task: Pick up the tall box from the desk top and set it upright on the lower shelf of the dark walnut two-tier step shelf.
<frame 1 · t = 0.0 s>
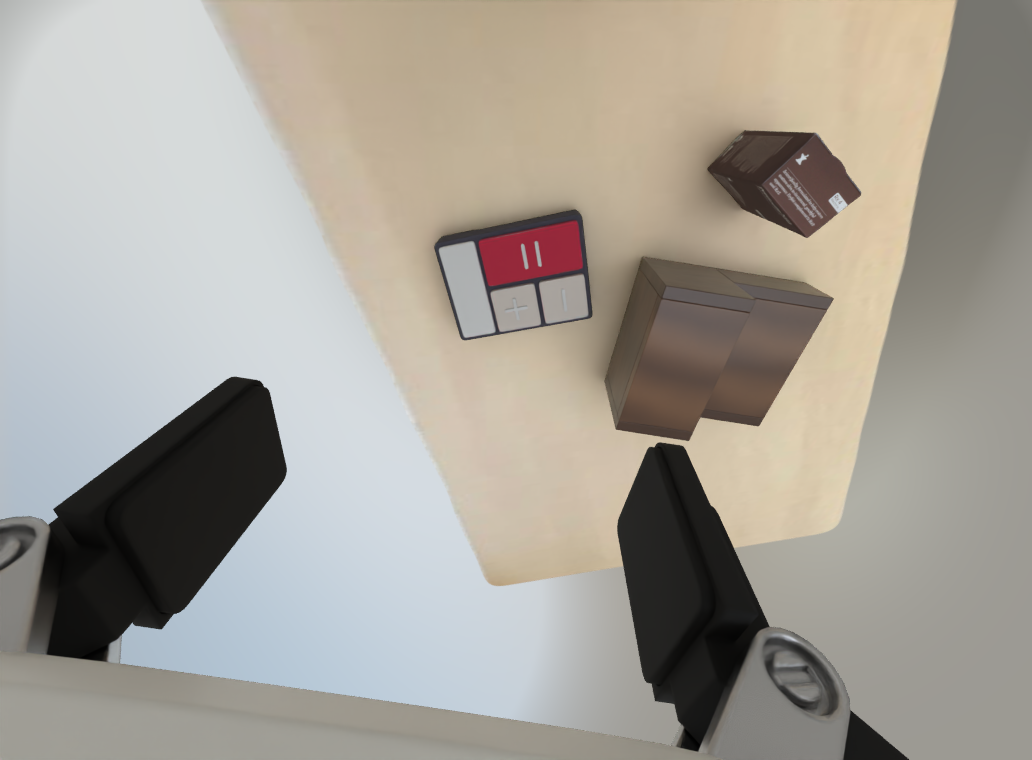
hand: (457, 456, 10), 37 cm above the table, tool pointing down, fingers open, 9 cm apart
box: (741, 173, 38), on the table
step shelf: (688, 334, 47), on the table
calculator: (517, 273, 45), on the table
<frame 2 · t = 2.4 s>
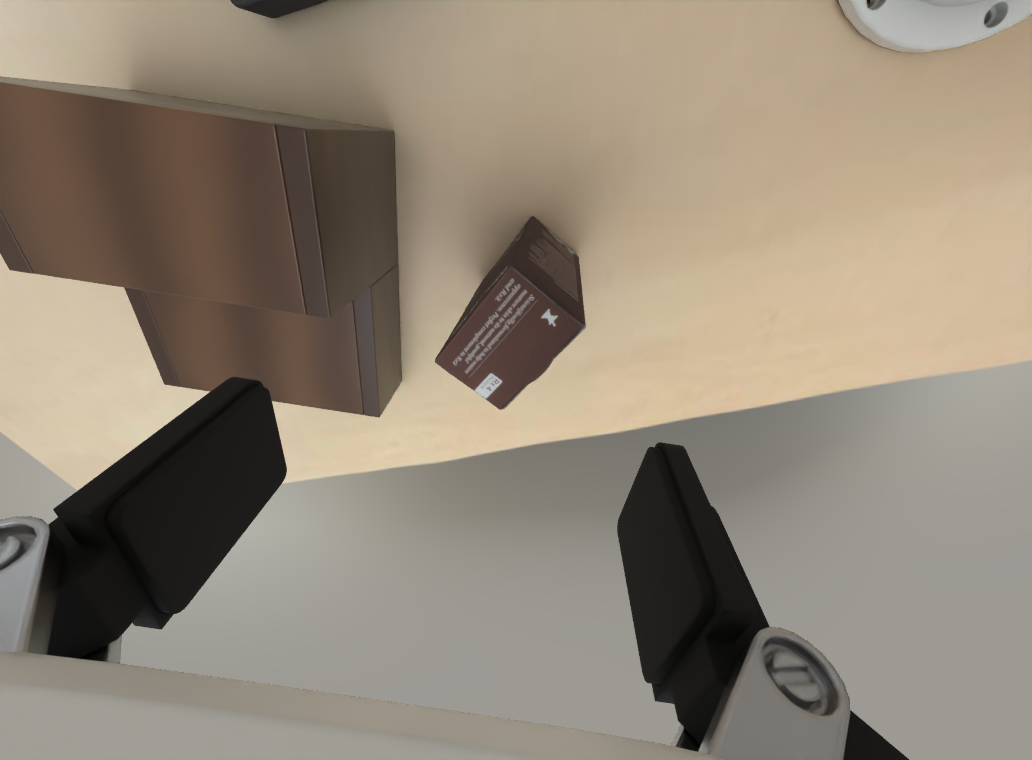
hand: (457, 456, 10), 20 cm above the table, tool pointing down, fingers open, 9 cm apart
box: (526, 267, 28), on the table
step shelf: (286, 246, 28), on the table
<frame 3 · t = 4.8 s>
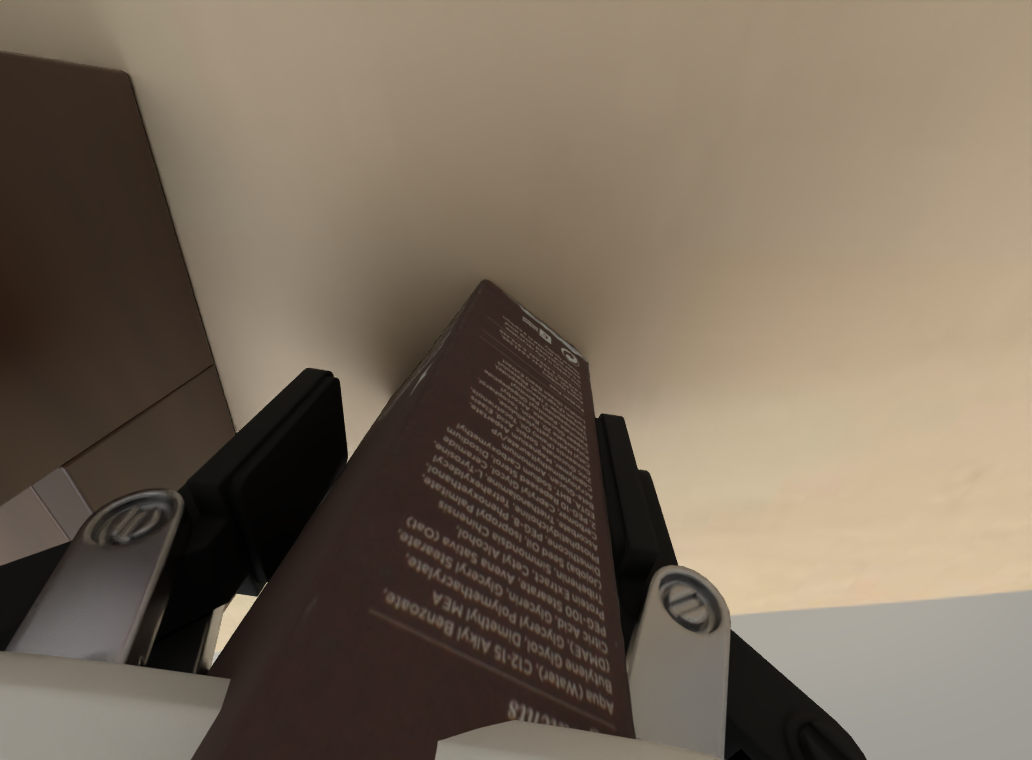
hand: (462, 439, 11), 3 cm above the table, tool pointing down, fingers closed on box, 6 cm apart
box: (479, 376, 13), on the table, touching gripper
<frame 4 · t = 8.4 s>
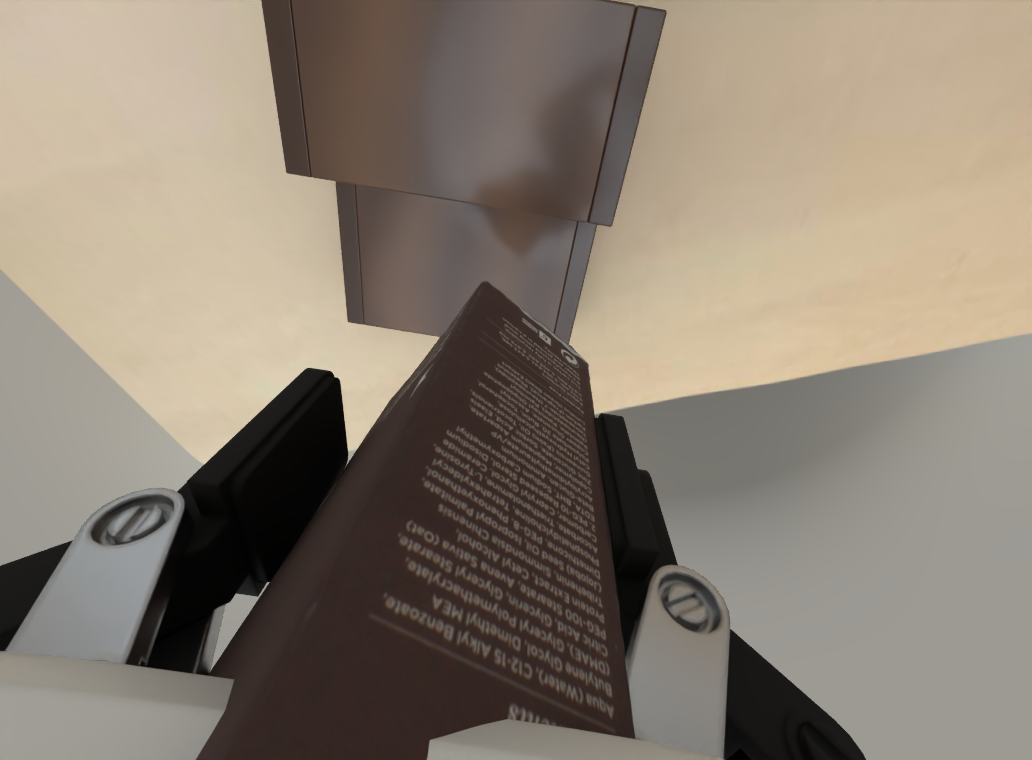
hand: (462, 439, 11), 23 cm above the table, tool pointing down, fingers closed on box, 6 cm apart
box: (479, 377, 13), point 19 cm above the table, touching gripper
step shelf: (480, 181, 28), on the table
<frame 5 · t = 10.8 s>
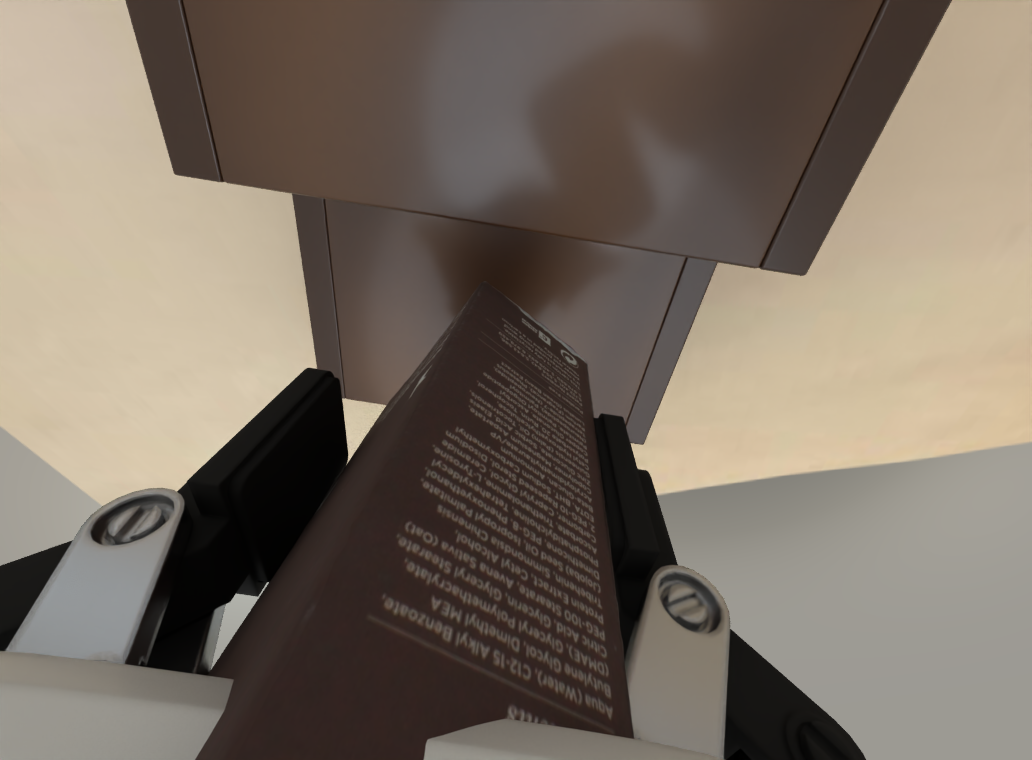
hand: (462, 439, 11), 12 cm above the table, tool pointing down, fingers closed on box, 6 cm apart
box: (479, 378, 13), point 9 cm above the table, touching gripper
step shelf: (518, 186, 18), on the table
when the fingers open (8 cm above the table, at t = 12.3 s): box stays where it is, resting on step shelf.
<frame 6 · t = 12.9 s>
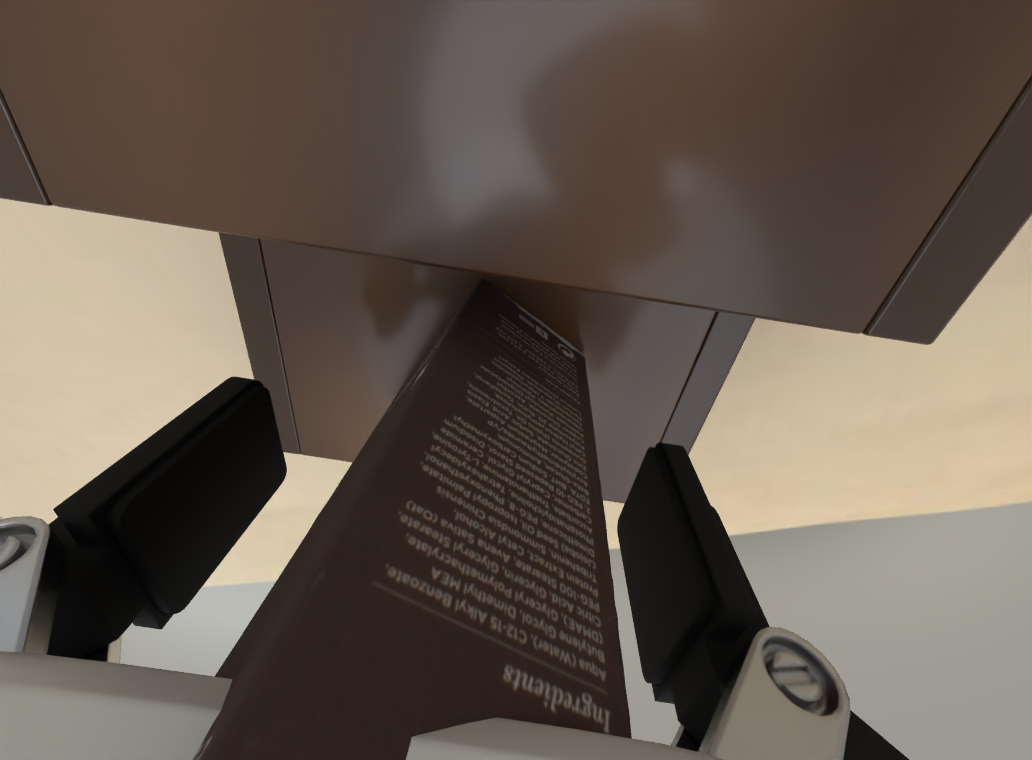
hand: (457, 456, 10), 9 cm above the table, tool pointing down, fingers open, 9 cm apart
box: (480, 374, 14), point 5 cm above the table, touching step shelf
step shelf: (510, 197, 15), on the table
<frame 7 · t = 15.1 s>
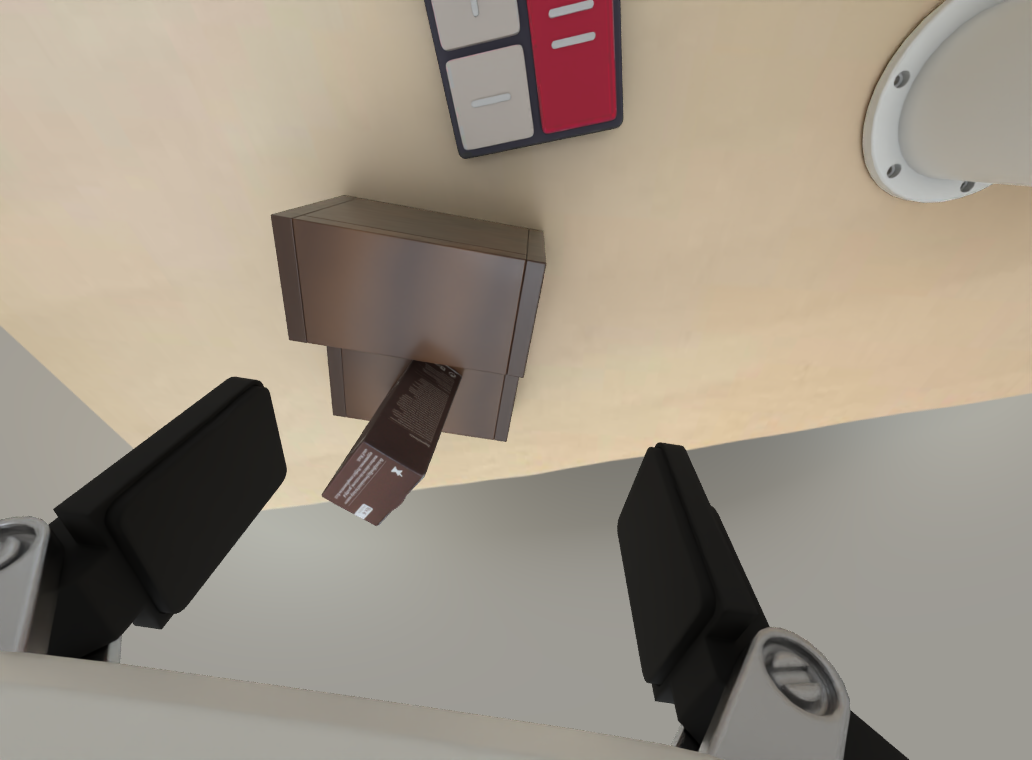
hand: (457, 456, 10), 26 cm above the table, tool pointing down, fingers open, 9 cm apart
box: (423, 382, 34), point 5 cm above the table, touching step shelf
step shelf: (438, 307, 36), on the table
calculator: (522, 7, 25), on the table
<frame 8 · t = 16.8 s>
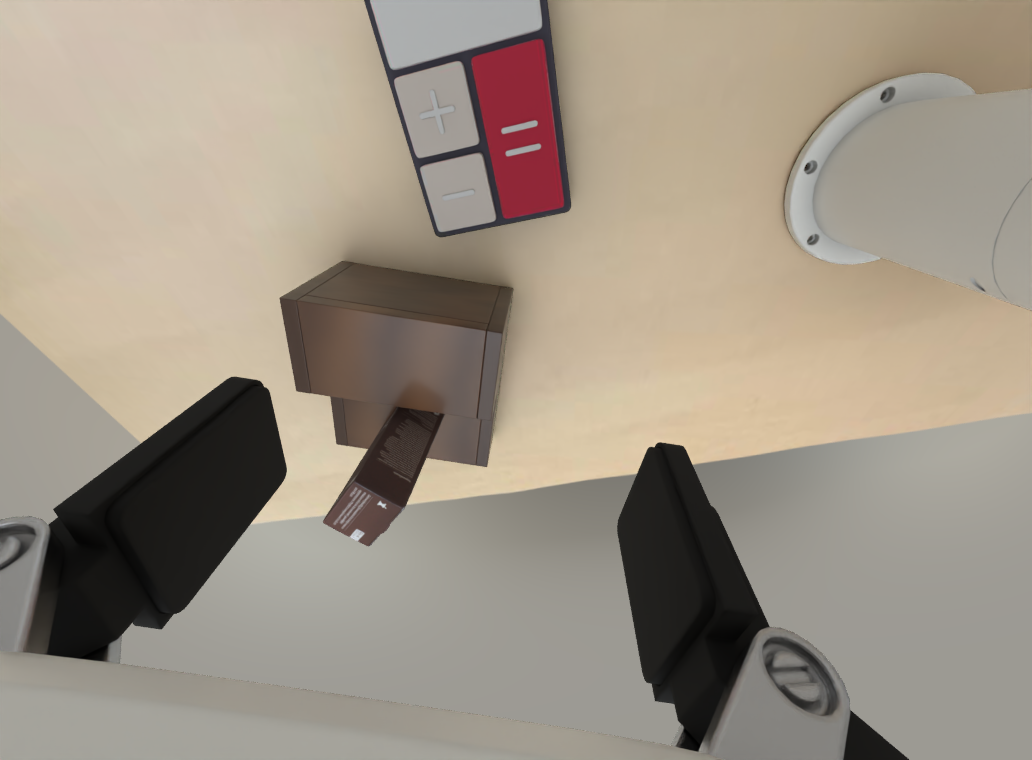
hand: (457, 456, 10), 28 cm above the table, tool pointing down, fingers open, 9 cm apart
box: (412, 417, 39), point 5 cm above the table, touching step shelf
step shelf: (426, 350, 41), on the table
calculator: (484, 114, 30), on the table
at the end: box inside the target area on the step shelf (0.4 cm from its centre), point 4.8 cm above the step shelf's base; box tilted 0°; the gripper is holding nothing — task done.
